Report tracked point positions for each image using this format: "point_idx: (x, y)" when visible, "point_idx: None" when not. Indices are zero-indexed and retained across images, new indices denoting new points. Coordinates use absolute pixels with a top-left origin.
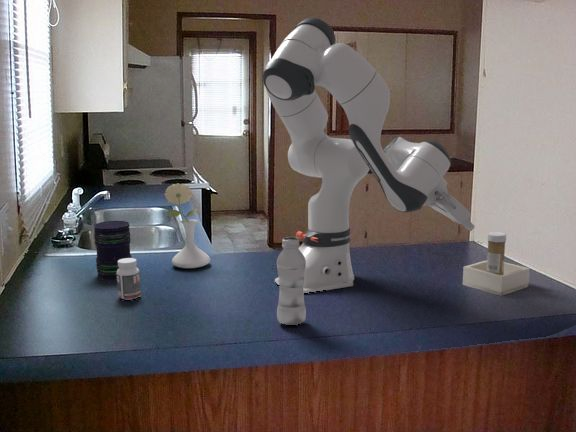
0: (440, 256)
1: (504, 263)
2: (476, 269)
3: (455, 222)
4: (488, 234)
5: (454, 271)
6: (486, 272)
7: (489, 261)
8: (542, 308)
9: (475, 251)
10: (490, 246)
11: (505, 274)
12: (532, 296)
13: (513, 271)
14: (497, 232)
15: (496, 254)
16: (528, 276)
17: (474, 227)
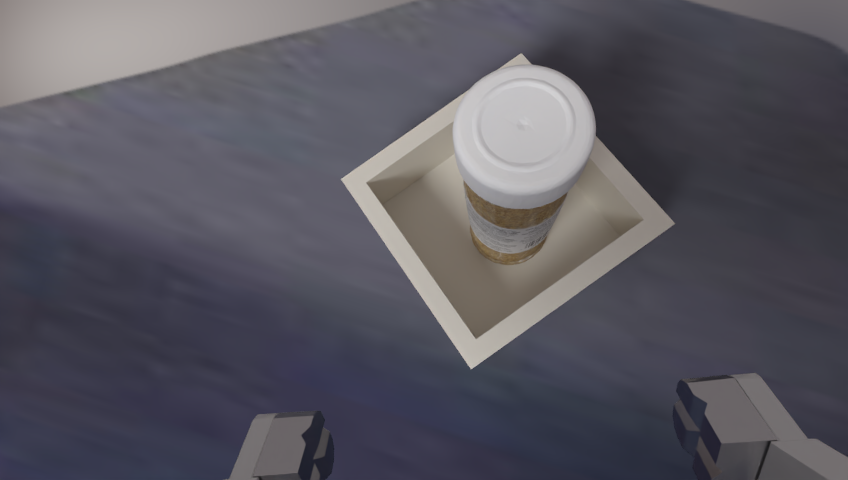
0: (45, 336)
1: (425, 140)
2: (529, 313)
3: (330, 459)
4: (521, 193)
5: (274, 341)
6: (587, 277)
7: (536, 237)
8: (804, 131)
9: (18, 164)
10: (545, 209)
11: (626, 192)
12: (644, 122)
13: None
14: (487, 111)
15: (567, 192)
16: None
17: (752, 375)
